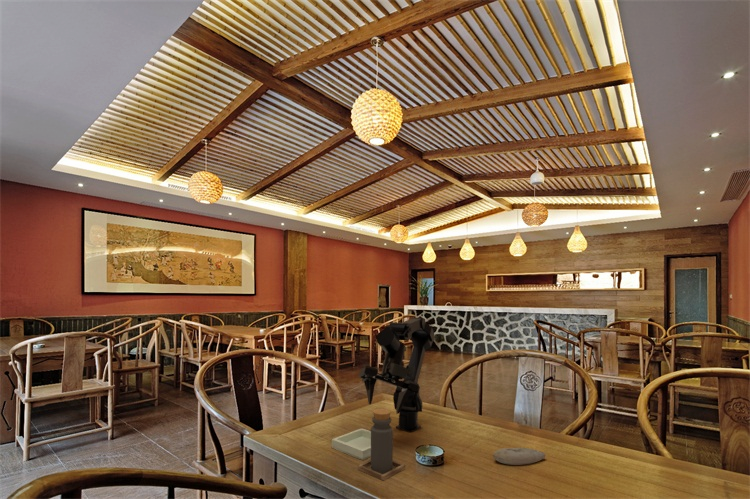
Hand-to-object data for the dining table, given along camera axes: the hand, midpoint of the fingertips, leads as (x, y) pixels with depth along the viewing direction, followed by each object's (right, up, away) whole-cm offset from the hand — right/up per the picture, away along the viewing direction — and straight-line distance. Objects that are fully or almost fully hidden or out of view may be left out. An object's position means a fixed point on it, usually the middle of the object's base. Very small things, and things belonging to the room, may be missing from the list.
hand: (383, 408), depth 122 cm
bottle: (-1, -11, -13) cm, 17 cm away
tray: (-7, -12, +1) cm, 14 cm away
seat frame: (-1, -11, -13) cm, 17 cm away
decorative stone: (+38, -12, -8) cm, 40 cm away
